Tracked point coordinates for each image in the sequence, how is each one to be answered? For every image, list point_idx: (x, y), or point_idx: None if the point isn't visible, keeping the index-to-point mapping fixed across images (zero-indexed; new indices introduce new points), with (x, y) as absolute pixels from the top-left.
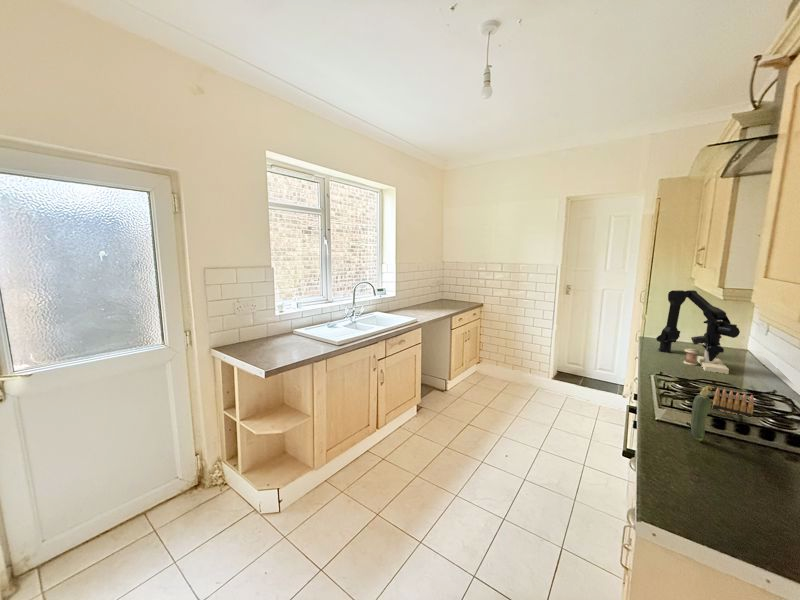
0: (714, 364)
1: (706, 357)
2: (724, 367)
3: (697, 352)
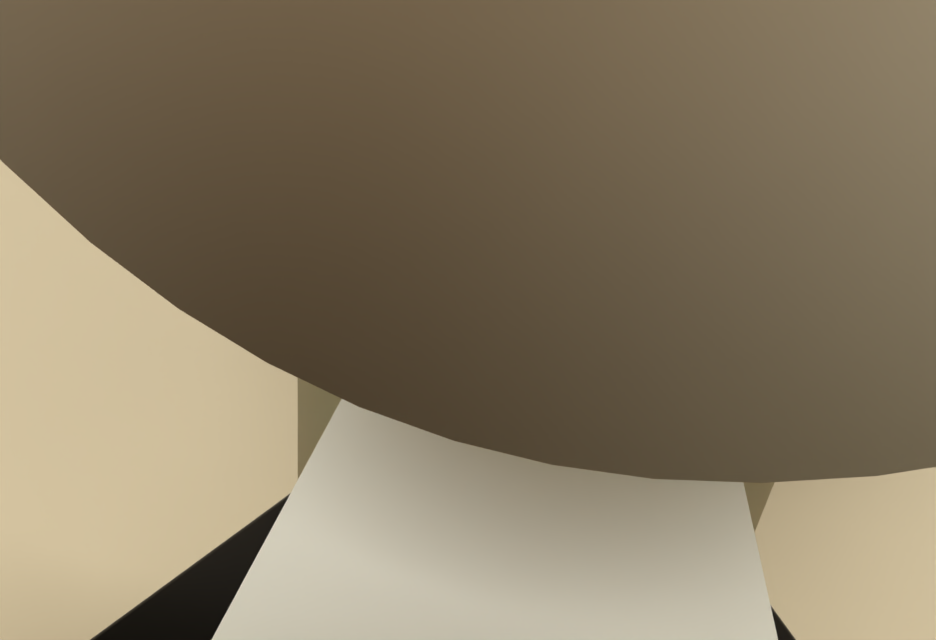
0: (231, 502)
1: (305, 497)
2: (50, 609)
3: (40, 112)
